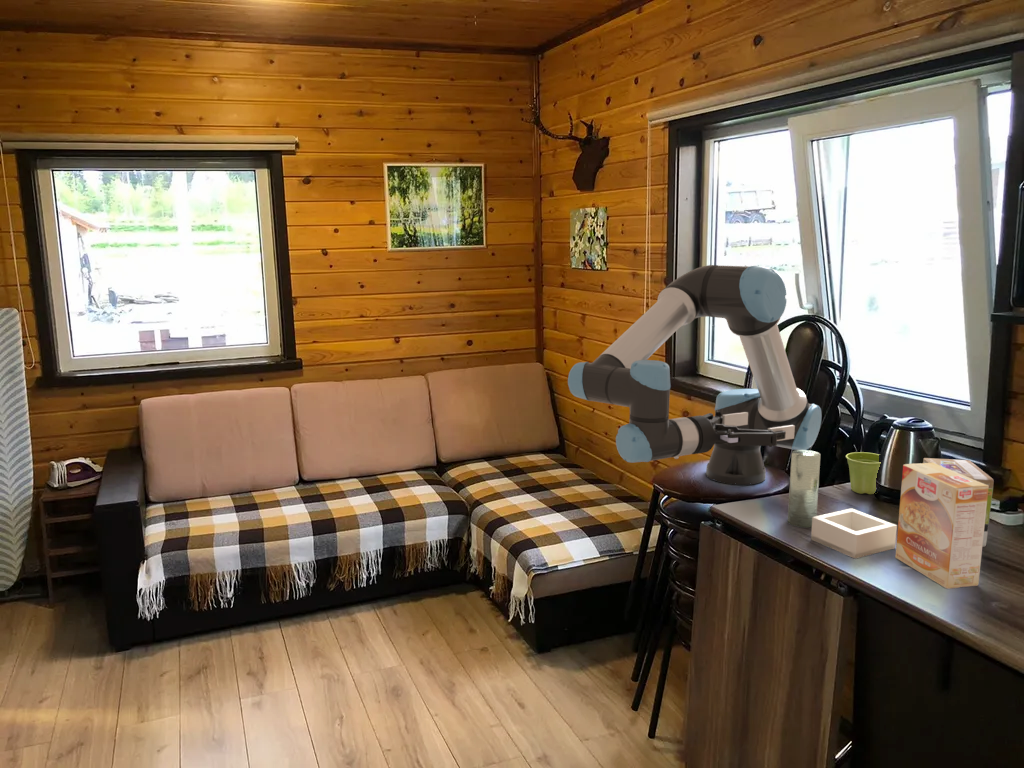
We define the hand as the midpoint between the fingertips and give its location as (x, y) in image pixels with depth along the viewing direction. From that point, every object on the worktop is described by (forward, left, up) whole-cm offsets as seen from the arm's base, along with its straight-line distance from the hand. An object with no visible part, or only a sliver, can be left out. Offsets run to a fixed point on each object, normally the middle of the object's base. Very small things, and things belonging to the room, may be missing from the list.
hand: (769, 424), depth 175 cm
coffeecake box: (+30, +15, -24) cm, 42 cm away
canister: (-1, +12, -24) cm, 27 cm away
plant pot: (-10, +42, -24) cm, 49 cm away
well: (+13, +12, -24) cm, 30 cm away
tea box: (+19, +35, -24) cm, 47 cm away
